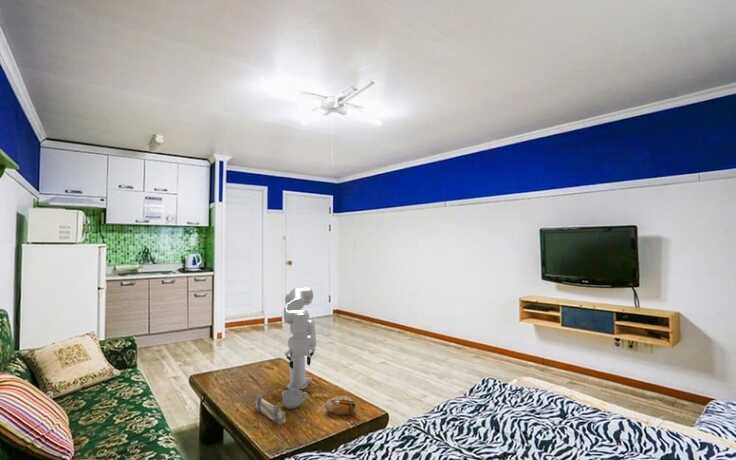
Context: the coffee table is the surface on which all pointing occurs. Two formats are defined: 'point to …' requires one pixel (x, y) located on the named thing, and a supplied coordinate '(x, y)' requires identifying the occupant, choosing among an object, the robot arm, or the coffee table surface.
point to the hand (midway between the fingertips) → (300, 366)
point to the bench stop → (270, 410)
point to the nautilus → (341, 405)
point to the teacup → (293, 398)
